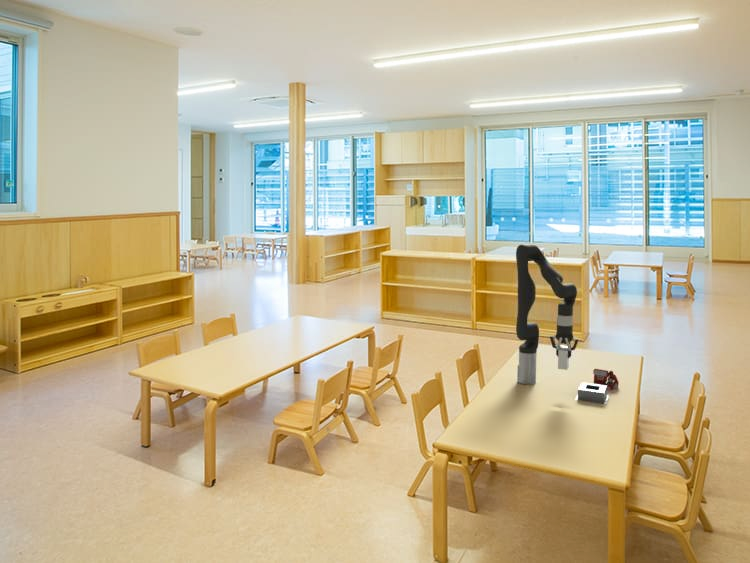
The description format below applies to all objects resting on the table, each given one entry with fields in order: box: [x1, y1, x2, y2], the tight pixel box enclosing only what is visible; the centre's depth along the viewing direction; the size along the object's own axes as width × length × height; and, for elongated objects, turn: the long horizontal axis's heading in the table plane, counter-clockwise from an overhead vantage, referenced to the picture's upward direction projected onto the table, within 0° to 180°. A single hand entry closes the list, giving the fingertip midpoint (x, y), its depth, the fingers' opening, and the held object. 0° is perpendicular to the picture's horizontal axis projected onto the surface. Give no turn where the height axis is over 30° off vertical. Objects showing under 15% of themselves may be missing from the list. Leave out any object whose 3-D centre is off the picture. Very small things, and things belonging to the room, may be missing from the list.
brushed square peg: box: [557, 344, 570, 371], centre depth 280 cm, size 4×4×11 cm
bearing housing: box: [575, 381, 610, 405], centre depth 277 cm, size 14×14×6 cm
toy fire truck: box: [592, 368, 620, 391], centre depth 292 cm, size 7×12×10 cm, turn 55°
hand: (563, 356), depth 280 cm, fingers closed on brushed square peg, 4 cm apart
